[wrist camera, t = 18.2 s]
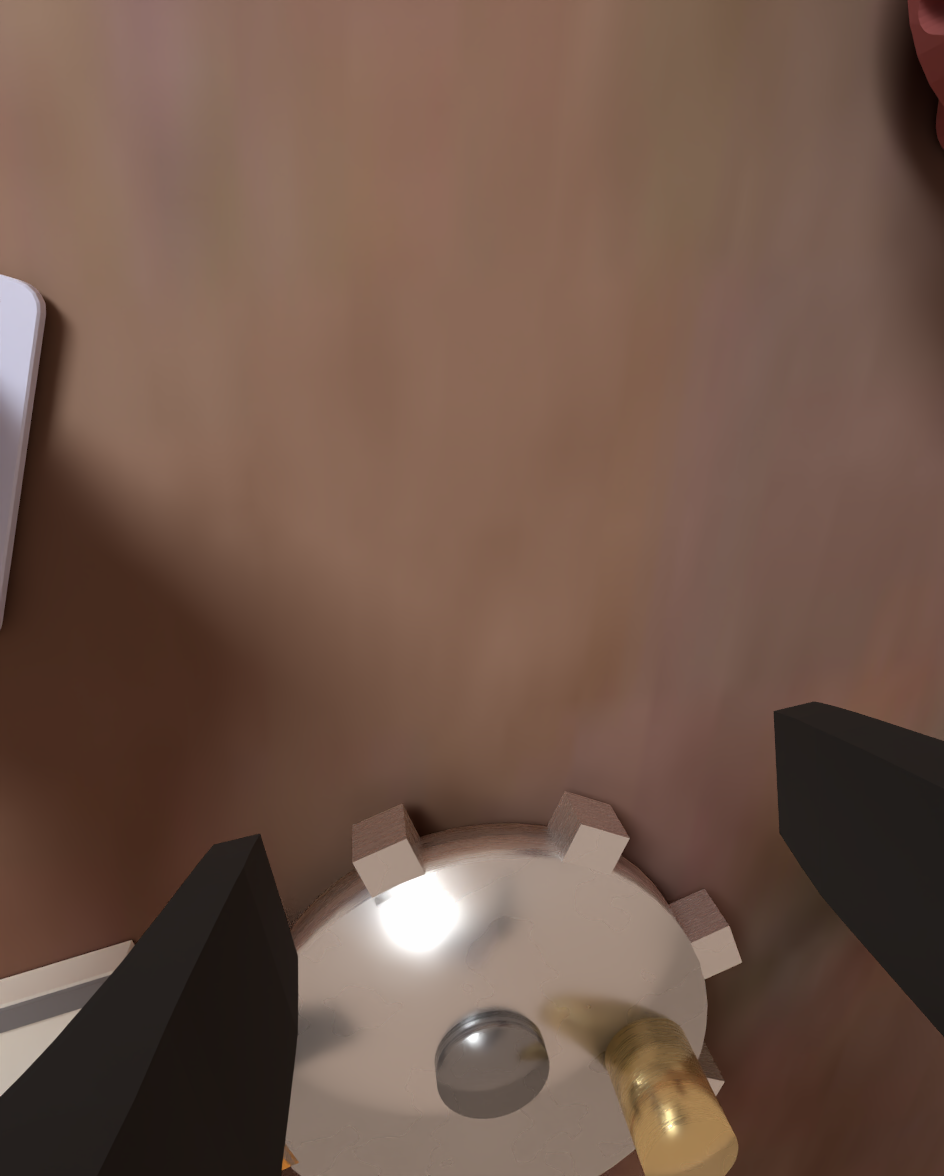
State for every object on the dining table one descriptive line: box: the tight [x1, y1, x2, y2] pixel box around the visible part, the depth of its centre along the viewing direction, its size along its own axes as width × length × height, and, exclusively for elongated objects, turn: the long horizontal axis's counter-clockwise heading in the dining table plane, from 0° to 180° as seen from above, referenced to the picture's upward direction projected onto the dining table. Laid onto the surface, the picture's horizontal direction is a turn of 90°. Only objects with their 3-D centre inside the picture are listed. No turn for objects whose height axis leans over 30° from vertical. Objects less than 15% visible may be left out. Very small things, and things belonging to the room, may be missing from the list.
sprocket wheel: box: [282, 791, 742, 1176], centre depth 20 cm, size 15×15×4 cm
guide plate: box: [0, 940, 135, 1096], centre depth 21 cm, size 10×7×1 cm
